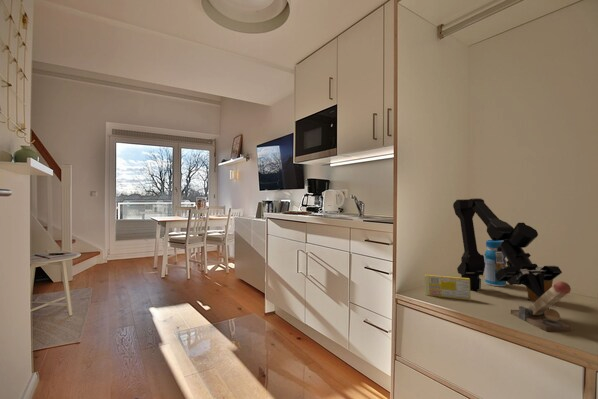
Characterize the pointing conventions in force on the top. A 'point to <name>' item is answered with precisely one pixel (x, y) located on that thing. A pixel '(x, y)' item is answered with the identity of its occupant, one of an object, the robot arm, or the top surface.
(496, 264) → the beverage bottle
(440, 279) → the candy box
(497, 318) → the top surface
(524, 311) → the base
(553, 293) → the lever
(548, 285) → the disposable coffee cup
